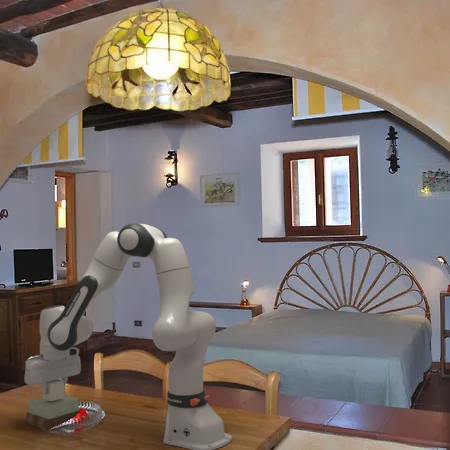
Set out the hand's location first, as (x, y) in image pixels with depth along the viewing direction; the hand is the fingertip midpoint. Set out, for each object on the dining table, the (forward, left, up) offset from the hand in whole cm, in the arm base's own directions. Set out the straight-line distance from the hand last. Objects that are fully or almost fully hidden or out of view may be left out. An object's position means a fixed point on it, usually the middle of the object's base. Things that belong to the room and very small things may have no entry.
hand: (53, 392), depth 196 cm
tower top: (0, 0, -7) cm, 7 cm away
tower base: (0, 0, -11) cm, 11 cm away
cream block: (0, 0, -2) cm, 2 cm away
